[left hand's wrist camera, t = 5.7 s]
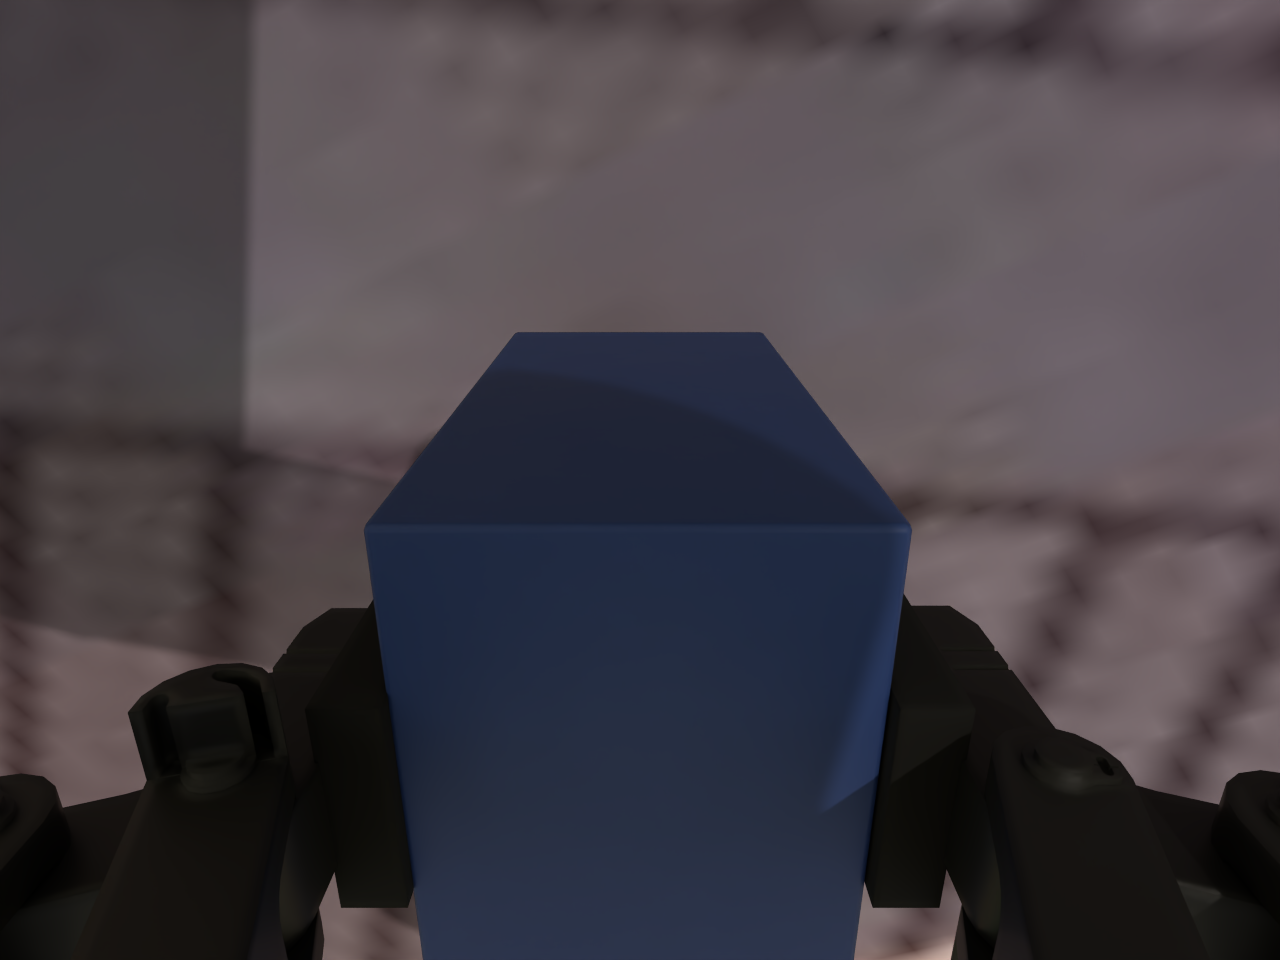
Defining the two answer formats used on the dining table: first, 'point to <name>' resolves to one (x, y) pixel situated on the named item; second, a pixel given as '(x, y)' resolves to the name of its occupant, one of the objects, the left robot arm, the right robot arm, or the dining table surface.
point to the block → (638, 656)
